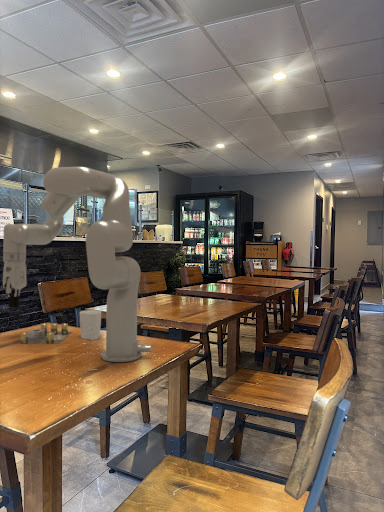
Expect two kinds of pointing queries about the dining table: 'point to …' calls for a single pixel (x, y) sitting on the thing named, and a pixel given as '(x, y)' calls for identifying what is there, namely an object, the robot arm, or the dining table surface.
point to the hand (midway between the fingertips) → (13, 307)
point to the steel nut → (36, 333)
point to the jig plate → (44, 340)
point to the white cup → (90, 324)
